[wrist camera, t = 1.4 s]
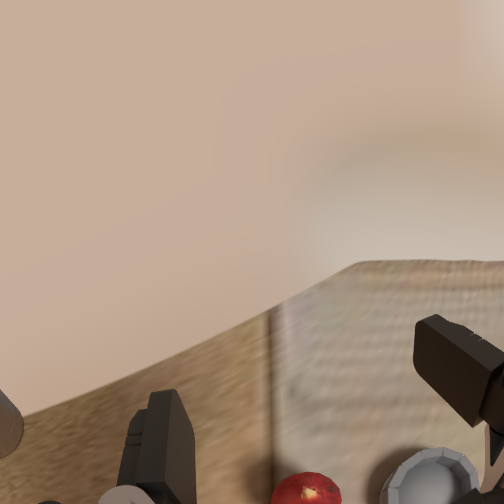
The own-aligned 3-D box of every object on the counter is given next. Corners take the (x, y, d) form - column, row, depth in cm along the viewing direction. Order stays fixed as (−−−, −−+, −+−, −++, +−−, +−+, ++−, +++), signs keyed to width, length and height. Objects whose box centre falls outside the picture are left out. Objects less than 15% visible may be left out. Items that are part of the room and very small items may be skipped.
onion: (327, 479, 24) (342, 451, 20) (338, 528, 19) (358, 515, 15) (268, 488, 24) (267, 463, 19) (274, 539, 19) (275, 531, 15)
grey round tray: (409, 561, 14) (419, 559, 13) (359, 489, 22) (366, 483, 21) (483, 499, 17) (496, 491, 15) (436, 439, 25) (445, 429, 24)
